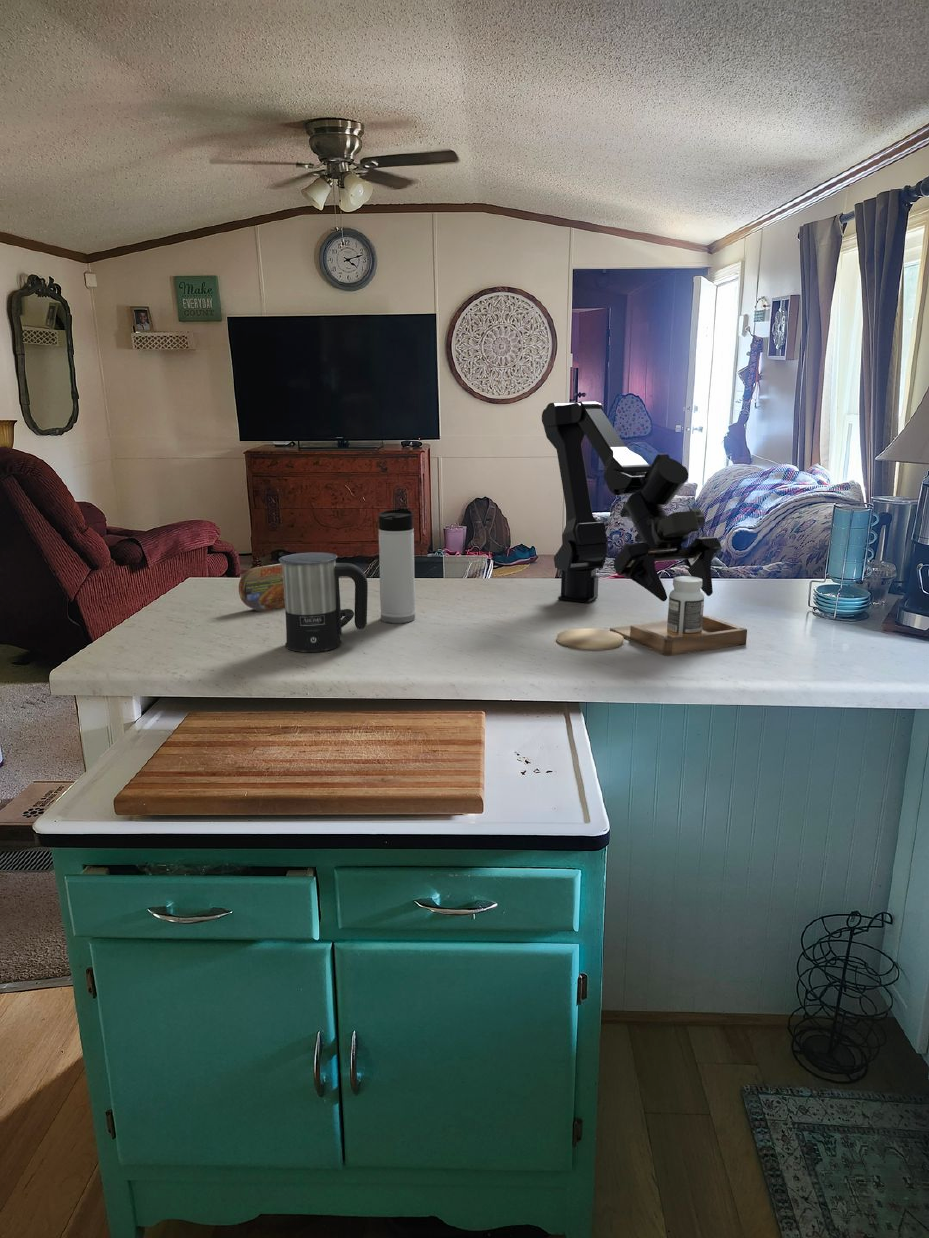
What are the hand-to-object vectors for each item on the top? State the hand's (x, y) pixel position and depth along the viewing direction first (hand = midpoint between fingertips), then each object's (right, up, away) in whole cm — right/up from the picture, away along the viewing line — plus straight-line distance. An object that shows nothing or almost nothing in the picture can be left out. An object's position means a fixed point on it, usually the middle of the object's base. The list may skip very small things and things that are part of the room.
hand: (688, 597), depth 144 cm
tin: (-73, -1, +26) cm, 77 cm away
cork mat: (-16, -7, +2) cm, 18 cm away
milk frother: (-61, -7, +4) cm, 62 cm away
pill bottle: (0, -7, +2) cm, 7 cm away
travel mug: (-49, -4, +16) cm, 52 cm away
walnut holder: (-1, -7, +4) cm, 8 cm away
